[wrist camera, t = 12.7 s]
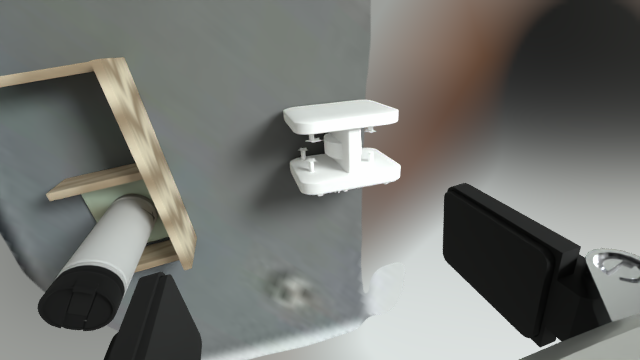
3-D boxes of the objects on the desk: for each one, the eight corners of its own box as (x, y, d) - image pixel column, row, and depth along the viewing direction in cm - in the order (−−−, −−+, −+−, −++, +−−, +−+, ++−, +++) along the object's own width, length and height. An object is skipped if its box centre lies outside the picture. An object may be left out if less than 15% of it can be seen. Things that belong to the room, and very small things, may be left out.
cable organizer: (372, 96, 49) (410, 108, 39) (371, 157, 53) (405, 183, 43) (280, 106, 46) (295, 122, 35) (287, 171, 50) (302, 202, 40)
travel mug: (165, 199, 46) (124, 292, 28) (150, 234, 47) (104, 344, 30) (118, 185, 43) (42, 278, 26) (105, 223, 45) (24, 336, 27)
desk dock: (6, 76, 36) (-49, 83, 29) (124, 57, 38) (100, 58, 31) (112, 260, 48) (92, 297, 41) (196, 237, 50) (191, 268, 43)
